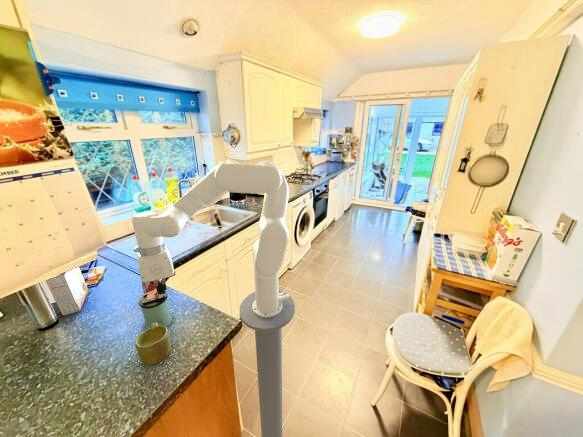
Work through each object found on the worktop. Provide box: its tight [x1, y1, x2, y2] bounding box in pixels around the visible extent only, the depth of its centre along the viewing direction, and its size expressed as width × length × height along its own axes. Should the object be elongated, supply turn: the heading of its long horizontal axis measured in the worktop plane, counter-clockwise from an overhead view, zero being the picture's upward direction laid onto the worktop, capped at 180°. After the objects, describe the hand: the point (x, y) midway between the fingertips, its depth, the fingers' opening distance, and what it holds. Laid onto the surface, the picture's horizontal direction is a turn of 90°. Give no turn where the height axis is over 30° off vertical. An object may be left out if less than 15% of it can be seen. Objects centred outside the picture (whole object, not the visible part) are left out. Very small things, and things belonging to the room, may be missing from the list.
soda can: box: [141, 279, 162, 295], centre depth 98 cm, size 7×7×12 cm
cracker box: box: [45, 266, 89, 317], centre depth 95 cm, size 14×6×21 cm, turn 27°
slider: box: [147, 289, 158, 301], centre depth 85 cm, size 3×3×2 cm
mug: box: [134, 322, 172, 366], centre depth 77 cm, size 12×10×10 cm
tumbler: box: [138, 290, 173, 330], centre depth 87 cm, size 9×9×13 cm
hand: (162, 291), depth 86 cm, fingers closed
